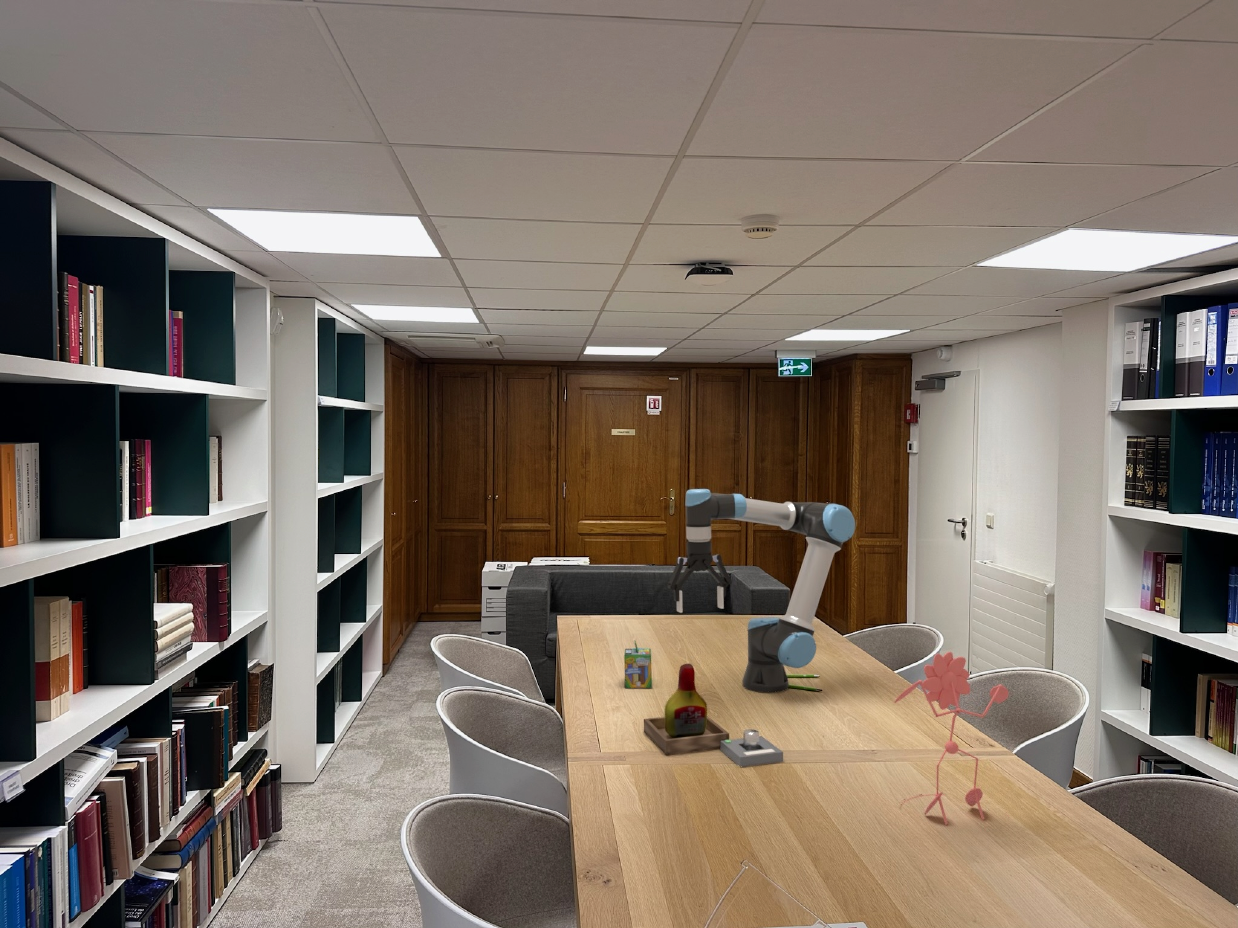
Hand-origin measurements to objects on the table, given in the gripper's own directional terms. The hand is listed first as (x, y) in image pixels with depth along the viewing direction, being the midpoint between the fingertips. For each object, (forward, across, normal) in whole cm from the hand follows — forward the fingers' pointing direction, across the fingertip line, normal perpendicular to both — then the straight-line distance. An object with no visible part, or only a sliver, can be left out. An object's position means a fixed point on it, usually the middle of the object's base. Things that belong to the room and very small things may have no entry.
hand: (700, 609), depth 246 cm
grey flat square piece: (+31, +3, +37) cm, 48 cm away
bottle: (+30, +14, +21) cm, 39 cm away
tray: (+31, +15, +21) cm, 40 cm away
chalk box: (+31, +9, -32) cm, 45 cm away
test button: (+29, +3, +37) cm, 47 cm away
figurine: (+31, -23, +79) cm, 88 cm away
